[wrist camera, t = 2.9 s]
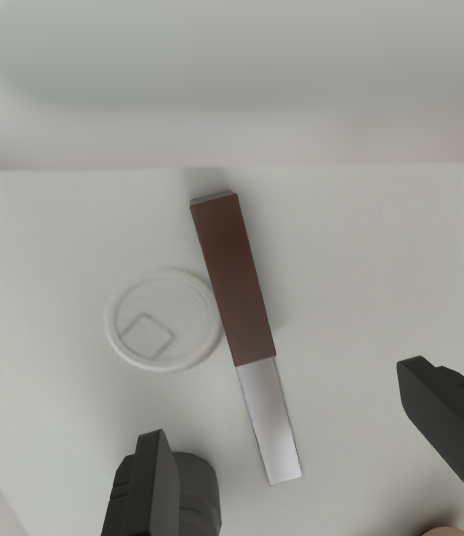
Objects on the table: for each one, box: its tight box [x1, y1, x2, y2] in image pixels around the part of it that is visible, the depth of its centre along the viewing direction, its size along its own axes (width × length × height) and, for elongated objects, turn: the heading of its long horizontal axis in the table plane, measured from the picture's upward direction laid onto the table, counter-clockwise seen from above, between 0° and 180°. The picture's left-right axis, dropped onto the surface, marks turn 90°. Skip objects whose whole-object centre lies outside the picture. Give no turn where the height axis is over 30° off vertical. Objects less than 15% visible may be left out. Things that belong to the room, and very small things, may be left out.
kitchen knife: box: [190, 190, 303, 486], centre depth 25 cm, size 3×22×3 cm, turn 14°
